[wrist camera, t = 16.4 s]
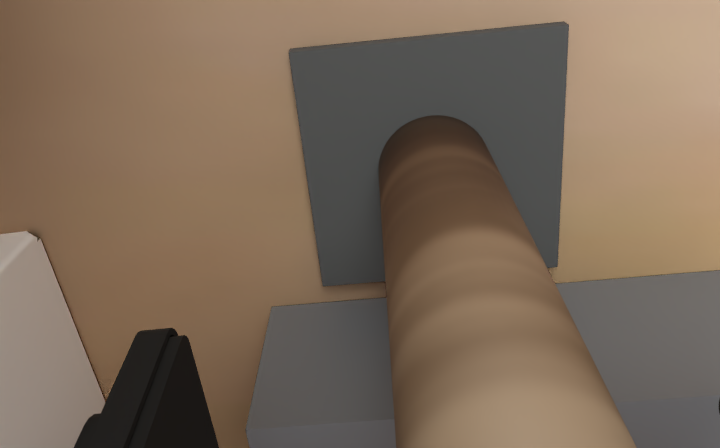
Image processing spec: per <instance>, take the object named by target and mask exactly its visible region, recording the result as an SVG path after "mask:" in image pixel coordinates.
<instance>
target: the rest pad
mask: <svg viewBox="0 0 720 448" xmlns="http://www.w3.org/2000/svg"><path fill="white" fill-rule="evenodd" d="M568 31H569V25H568V24H567V23H565V22H555V23H545V24H535V25H525V26H514V27H504V28H494V29H484V30H474V31H464V32H454V33H444V34H434V35H424V36H414V37H404V38H394V39H383V40H373V41H363V42H353V43H343V44H333V45H323V46H313V47H303V48H293V49H290V51H289V58H290V65H291V71H292V78H293V85H294V92H295V99H296V106H297V113H298V119H299V126H300V133H301V140H302V147H303V154H304V161H305V167H306V174H307V181H308V188H309V195H310V202H311V209H312V215H313V222H314V229H315V236H316V243H317V250H318V257H319V263H320V270H321V277H322V284H323V286H333V285H345V284H357V283H369V282H381V281H385V267H384V252H383V236H382V221H381V205H380V190H379V175H378V166H379V159H380V155H381V152H382V150H383V148H384V146H385V144H386V142H387V141H388V140H389V138H390V137H391V136H392V135H393V134H394V133H395V132H396V131H397V130H398V129H399V128H400V127H402V126H403V125H405V124H406V123H408V122H410V121H412V120H415V119H417V118H421V117H425V116H431V115H442V116H449V117H453V118H456V119H459V120H461V121H463V122H465V123H467V124H468V125H470V126H471V127H472V128H474V129H475V130H476V131H477V132H478V133H479V135H480V136H481V137H482V139H483V141H484V142H485V144H486V146H487V148H488V150H489V152H490V154H491V156H492V158H493V160H494V162H495V164H496V166H497V168H498V170H499V172H500V174H501V176H502V178H503V180H504V182H505V184H506V186H507V188H508V190H509V192H510V194H511V196H512V198H513V200H514V202H515V204H516V206H517V208H518V210H519V212H520V214H521V216H522V218H523V220H524V222H525V224H526V226H527V228H528V230H529V232H530V234H531V236H532V238H533V240H534V242H535V244H536V246H537V248H538V250H539V252H540V254H541V256H542V258H543V260H544V262H545V264H546V266H547V268H551V267H557V265H558V244H559V223H560V202H561V180H562V159H563V138H564V116H565V95H566V74H567V53H568Z"/></svg>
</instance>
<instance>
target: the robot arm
mask: <svg viewBox="0 0 720 448" xmlns="http://www.w3.org/2000/svg"><path fill="white" fill-rule="evenodd" d="M719 414H720V399H719ZM74 448H219V446H218V442H217V439H216V435H215V432H214V428H213V425H212V421H211V417H210V414H209V410H208V407H207V403H206V400H205V396H204V392H203V389H202V385H201V382H200V378H199V375H198V371H197V367H196V364H195V360H194V357H193V353H192V349H191V346H190V342H189V340H188V338H187V336H185V335H183V336H178V334H177V332H176V331H175V329H173V328H166V329H155V330H144V331H140V332H138V333H137V335H136V336H135V338H134V340H133V343H132V345H131V347H130V349H129V352H128V354H127V356H126V358H125V361H124V363H123V365H122V367H121V369H120V372H119V374H118V376H117V378H116V381H115V383H114V385H113V387H112V389H111V392H110V394H109V396H108V398H107V401H106V403H105V405H104V407H103V409H102V412H101V413H99V414H93V415H92V416H91V417H89V418H88V420H87V422H86V423H85V425H84V426H83V429H82V431H81V433H80V435H79V437H78V439H77V441H76V444H75V446H74Z"/></svg>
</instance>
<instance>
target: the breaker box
mask: <svg viewBox="0 0 720 448" xmlns="http://www.w3.org/2000/svg"><path fill="white" fill-rule="evenodd" d="M555 285H556V287H557V289H558V291H559V293H560V295H561V297H562V299H563V301H564V303H565V305H566V307H567V309H568V311H569V313H570V315H571V317H572V319H573V321H574V323H575V325H576V327H577V329H578V331H579V333H580V335H581V337H582V339H583V341H584V343H585V345H586V347H587V349H588V351H589V353H590V355H591V357H592V359H593V361H594V363H595V365H596V367H597V369H598V371H599V373H600V375H601V377H602V379H603V381H604V383H605V385H606V387H607V389H608V391H609V393H610V395H611V397H612V399H613V401H614V403H615V405H616V407H617V409H618V411H619V413H620V415H621V417H622V419H623V421H624V423H625V425H626V427H627V429H628V431H629V433H630V435H631V437H632V439H633V441H634V443H635V445H636V447H637V448H720V414H719V399H720V270H718V271H705V272H693V273H681V274H669V275H656V276H644V277H632V278H620V279H607V280H595V281H583V282H570V283H558V284H555ZM246 434H247V439H248V443H249V447H250V448H396V437H395V421H394V406H393V390H392V375H391V360H390V344H389V329H388V313H387V298H374V299H362V300H350V301H337V302H325V303H313V304H301V305H288V306H276V307H272V308H271V313H270V317H269V322H268V327H267V331H266V336H265V341H264V345H263V350H262V355H261V359H260V364H259V369H258V373H257V378H256V383H255V387H254V392H253V397H252V402H251V406H250V411H249V416H248V420H247V425H246Z"/></svg>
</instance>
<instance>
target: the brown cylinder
mask: <svg viewBox="0 0 720 448" xmlns="http://www.w3.org/2000/svg"><path fill="white" fill-rule="evenodd" d="M378 175H379V190H380V205H381V221H382V236H383V252H384V267H385V283H386V298H387V313H388V329H389V344H390V360H391V375H392V390H393V406H394V421H395V437H396V448H637V447H636V445H635V443H634V441H633V439H632V437H631V435H630V433H629V431H628V429H627V427H626V425H625V423H624V421H623V419H622V417H621V415H620V413H619V411H618V409H617V407H616V405H615V403H614V401H613V399H612V397H611V395H610V393H609V391H608V389H607V387H606V385H605V383H604V381H603V379H602V377H601V375H600V373H599V371H598V369H597V367H596V365H595V363H594V361H593V359H592V357H591V355H590V353H589V351H588V349H587V347H586V345H585V343H584V341H583V339H582V337H581V335H580V333H579V331H578V329H577V327H576V325H575V323H574V321H573V319H572V317H571V315H570V313H569V311H568V309H567V307H566V305H565V303H564V301H563V299H562V297H561V295H560V293H559V291H558V289H557V287H556V285H555V283H554V281H553V279H552V277H551V275H550V273H549V270H548V268H547V266H546V264H545V262H544V260H543V258H542V256H541V254H540V252H539V250H538V248H537V246H536V244H535V242H534V240H533V238H532V236H531V234H530V232H529V230H528V228H527V226H526V224H525V222H524V220H523V218H522V216H521V214H520V212H519V210H518V208H517V206H516V204H515V202H514V200H513V198H512V196H511V194H510V192H509V190H508V188H507V186H506V184H505V182H504V180H503V178H502V176H501V174H500V172H499V170H498V168H497V166H496V164H495V162H494V160H493V158H492V156H491V154H490V152H489V150H488V148H487V146H486V144H485V142H484V141H483V139H482V137H481V136H480V135H479V133H478V132H477V131H476V130H475V129H474V128H472V127H471V126H470V125H468V124H467V123H465V122H463V121H461V120H459V119H456V118H453V117H449V116H442V115H431V116H425V117H421V118H417V119H415V120H412V121H410V122H408V123H406V124H405V125H403V126H402V127H400V128H399V129H398V130H397V131H396V132H395V133H394V134H393V135H392V136H391V137H390V138H389V140H388V141H387V142H386V144H385V146H384V148H383V150H382V152H381V155H380V159H379V166H378Z"/></svg>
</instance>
